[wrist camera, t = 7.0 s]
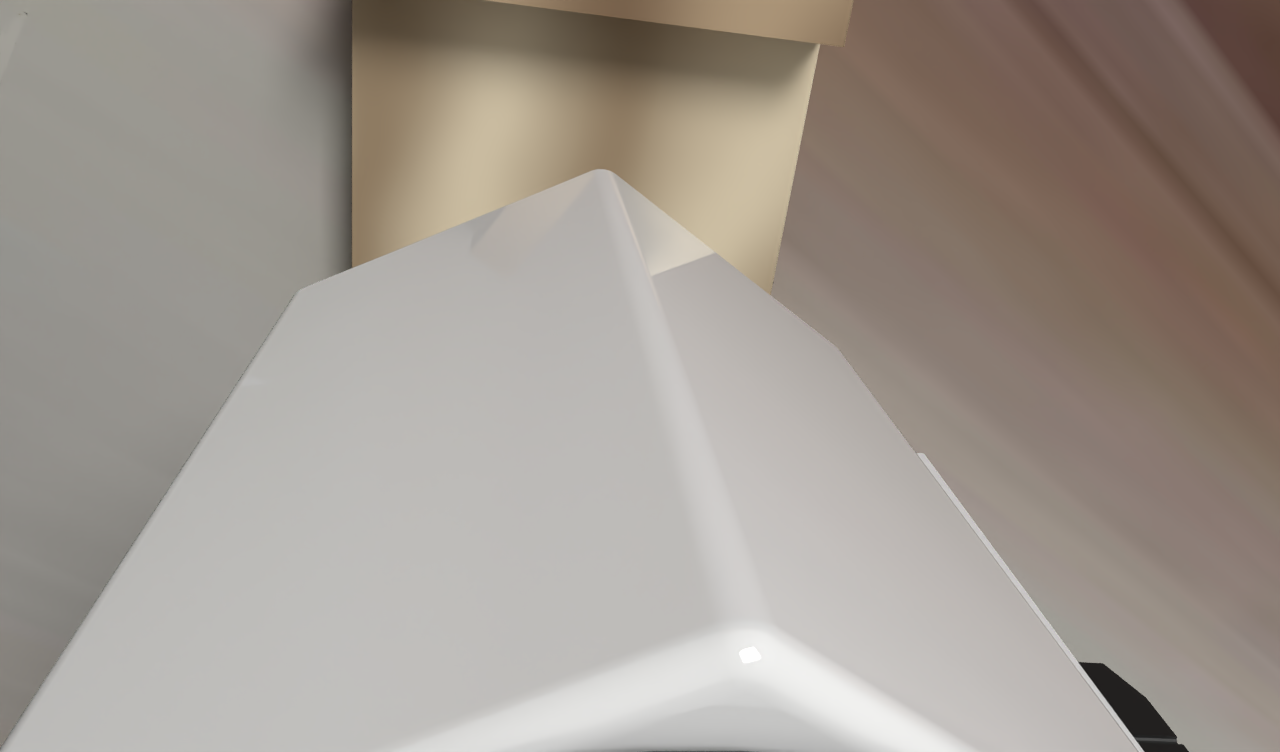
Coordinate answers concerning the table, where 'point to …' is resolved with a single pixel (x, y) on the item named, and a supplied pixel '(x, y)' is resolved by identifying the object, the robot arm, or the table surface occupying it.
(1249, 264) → the table surface
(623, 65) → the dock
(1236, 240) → the table surface
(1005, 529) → the table surface
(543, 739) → the jar
